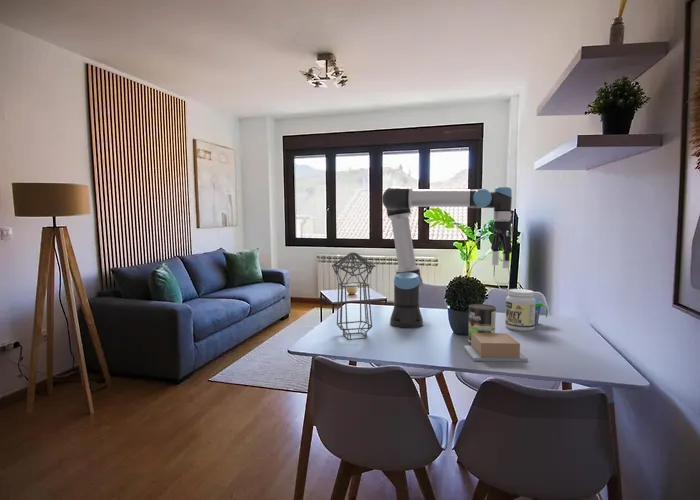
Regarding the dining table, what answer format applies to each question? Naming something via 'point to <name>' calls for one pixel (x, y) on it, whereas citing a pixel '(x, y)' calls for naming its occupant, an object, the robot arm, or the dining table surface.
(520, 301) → the supplement tub
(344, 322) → the geometric lantern
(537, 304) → the snack cup
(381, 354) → the dining table surface
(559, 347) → the dining table surface
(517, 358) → the tower base
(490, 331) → the coffee can
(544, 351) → the dining table surface
